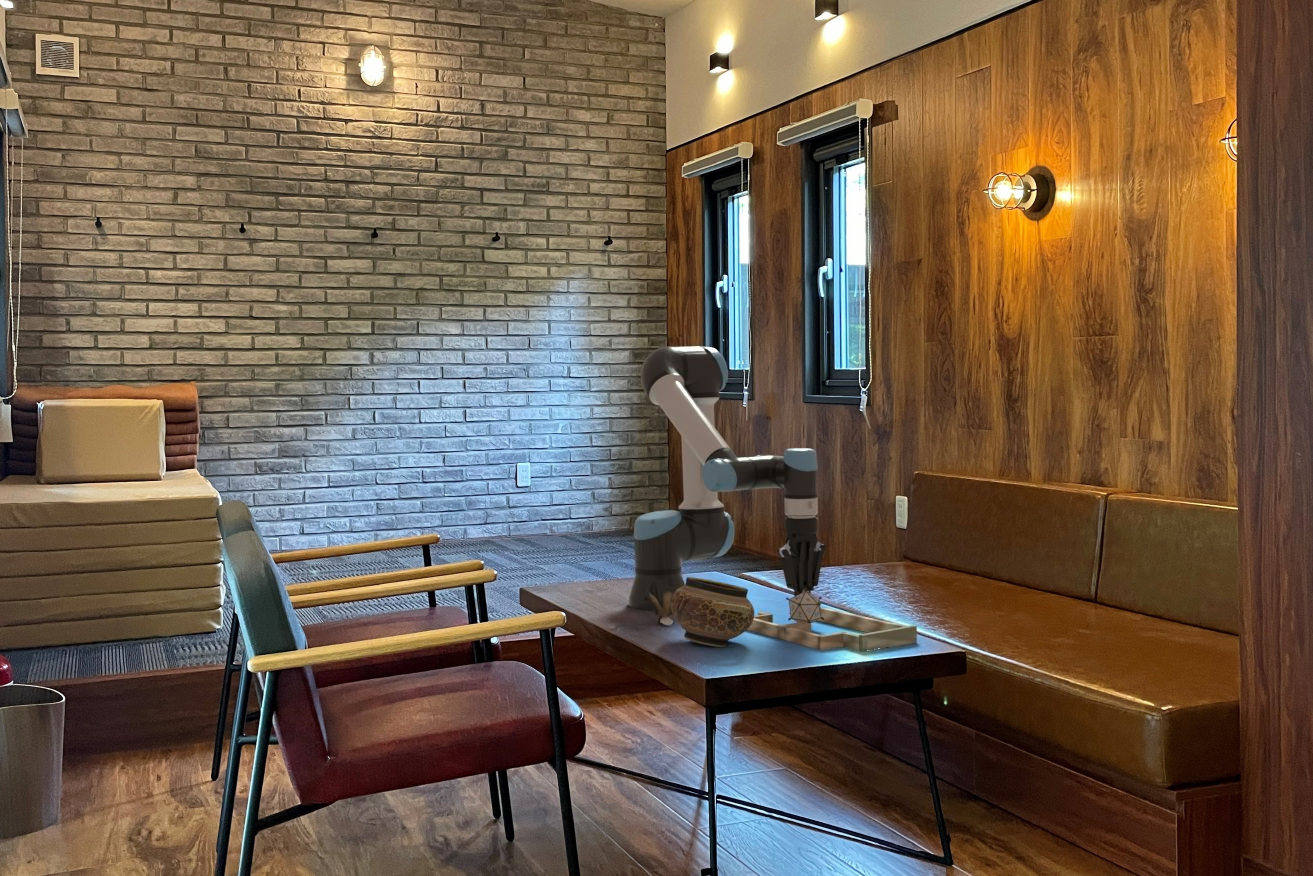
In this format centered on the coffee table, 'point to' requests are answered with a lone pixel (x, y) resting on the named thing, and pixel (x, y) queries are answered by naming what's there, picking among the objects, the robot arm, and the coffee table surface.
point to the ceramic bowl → (711, 611)
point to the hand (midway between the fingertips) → (802, 618)
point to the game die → (805, 607)
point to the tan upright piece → (666, 607)
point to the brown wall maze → (877, 636)
